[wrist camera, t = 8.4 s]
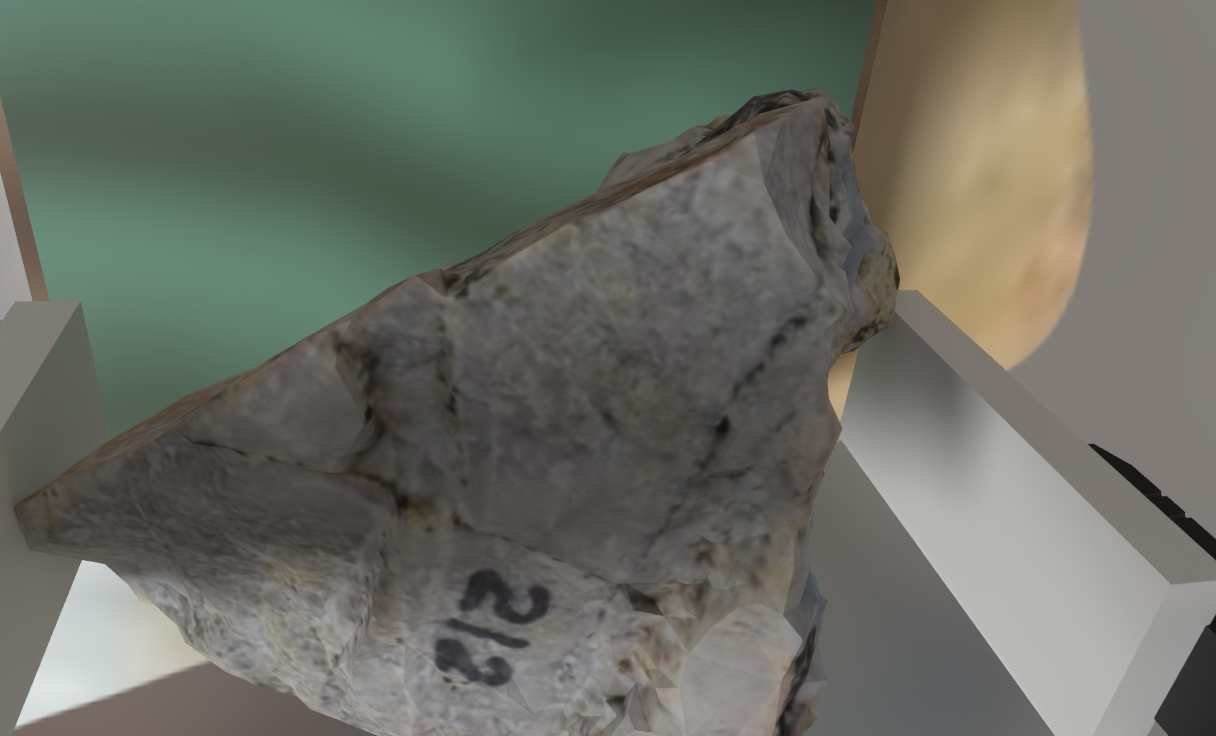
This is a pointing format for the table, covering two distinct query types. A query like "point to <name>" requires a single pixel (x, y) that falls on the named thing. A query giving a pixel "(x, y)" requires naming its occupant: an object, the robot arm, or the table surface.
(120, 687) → the table surface
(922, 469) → the robot arm
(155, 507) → the mineral specimen
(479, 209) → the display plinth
